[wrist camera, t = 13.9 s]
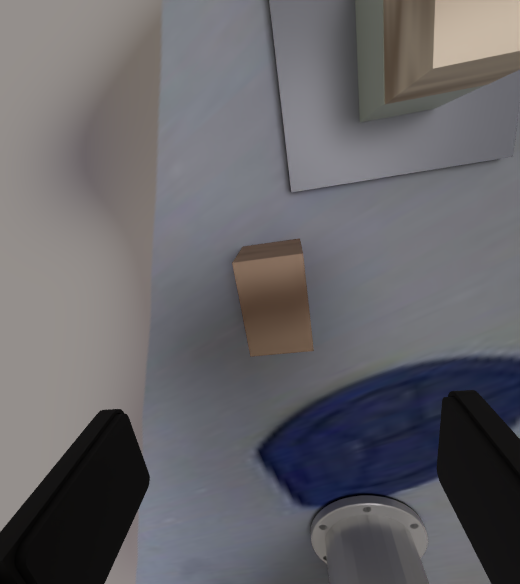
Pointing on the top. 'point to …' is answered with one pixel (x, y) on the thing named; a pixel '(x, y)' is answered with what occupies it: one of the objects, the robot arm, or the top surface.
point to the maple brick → (448, 45)
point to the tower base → (378, 142)
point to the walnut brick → (274, 297)
